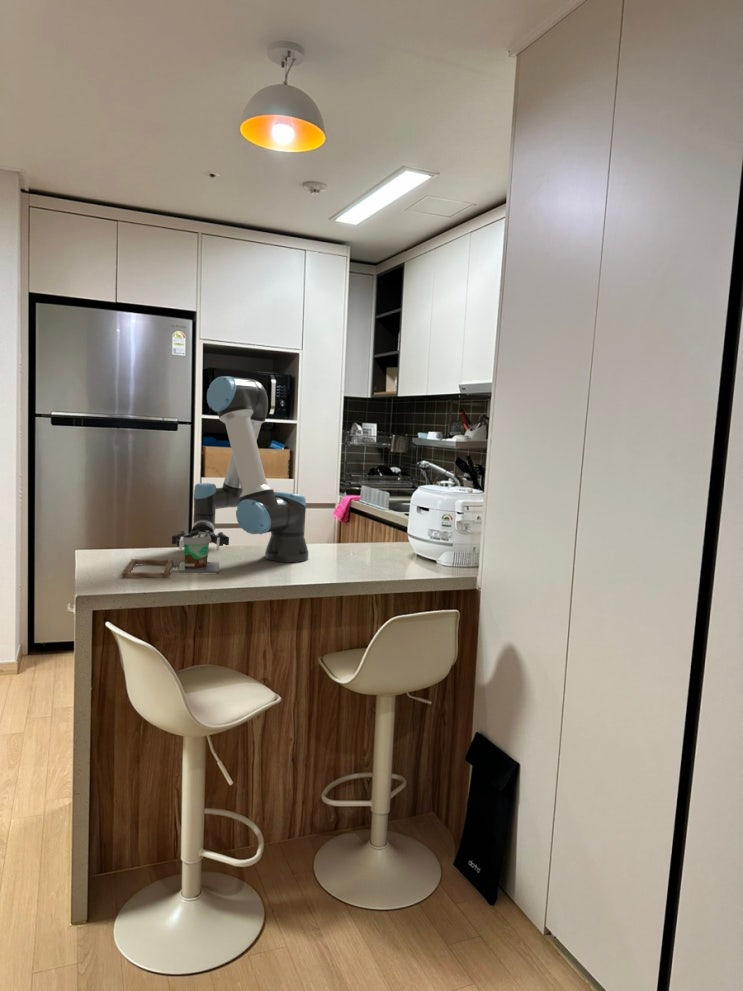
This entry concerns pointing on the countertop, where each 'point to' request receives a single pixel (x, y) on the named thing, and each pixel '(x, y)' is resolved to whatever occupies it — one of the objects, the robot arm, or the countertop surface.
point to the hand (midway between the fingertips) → (199, 545)
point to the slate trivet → (210, 568)
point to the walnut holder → (133, 562)
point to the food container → (196, 550)
